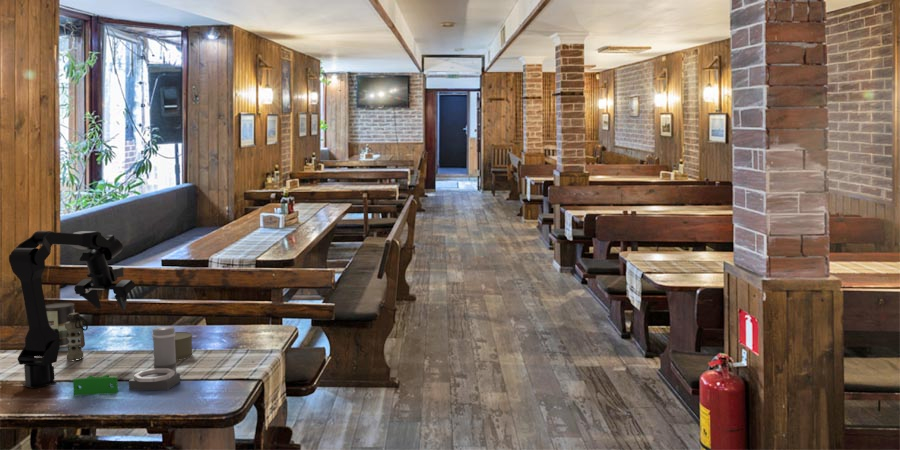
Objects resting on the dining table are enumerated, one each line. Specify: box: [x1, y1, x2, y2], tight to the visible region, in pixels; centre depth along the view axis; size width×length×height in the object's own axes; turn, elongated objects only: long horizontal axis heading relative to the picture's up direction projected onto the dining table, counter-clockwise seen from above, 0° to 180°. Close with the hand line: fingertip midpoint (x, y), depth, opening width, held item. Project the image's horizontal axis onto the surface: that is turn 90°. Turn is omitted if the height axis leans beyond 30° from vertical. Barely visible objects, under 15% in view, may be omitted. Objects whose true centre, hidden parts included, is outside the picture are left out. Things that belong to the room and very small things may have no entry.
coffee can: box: [45, 302, 76, 348], centre depth 254 cm, size 10×10×14 cm
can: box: [175, 331, 193, 361], centre depth 237 cm, size 12×12×7 cm
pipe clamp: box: [72, 374, 119, 396], centre depth 199 cm, size 11×4×5 cm, turn 97°
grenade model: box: [65, 312, 90, 361], centre depth 235 cm, size 6×7×15 cm
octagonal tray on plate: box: [128, 368, 181, 391], centre depth 205 cm, size 11×10×4 cm
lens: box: [152, 326, 177, 373], centre depth 215 cm, size 6×6×14 cm
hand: (112, 309), depth 237 cm, fingers open, 9 cm apart
